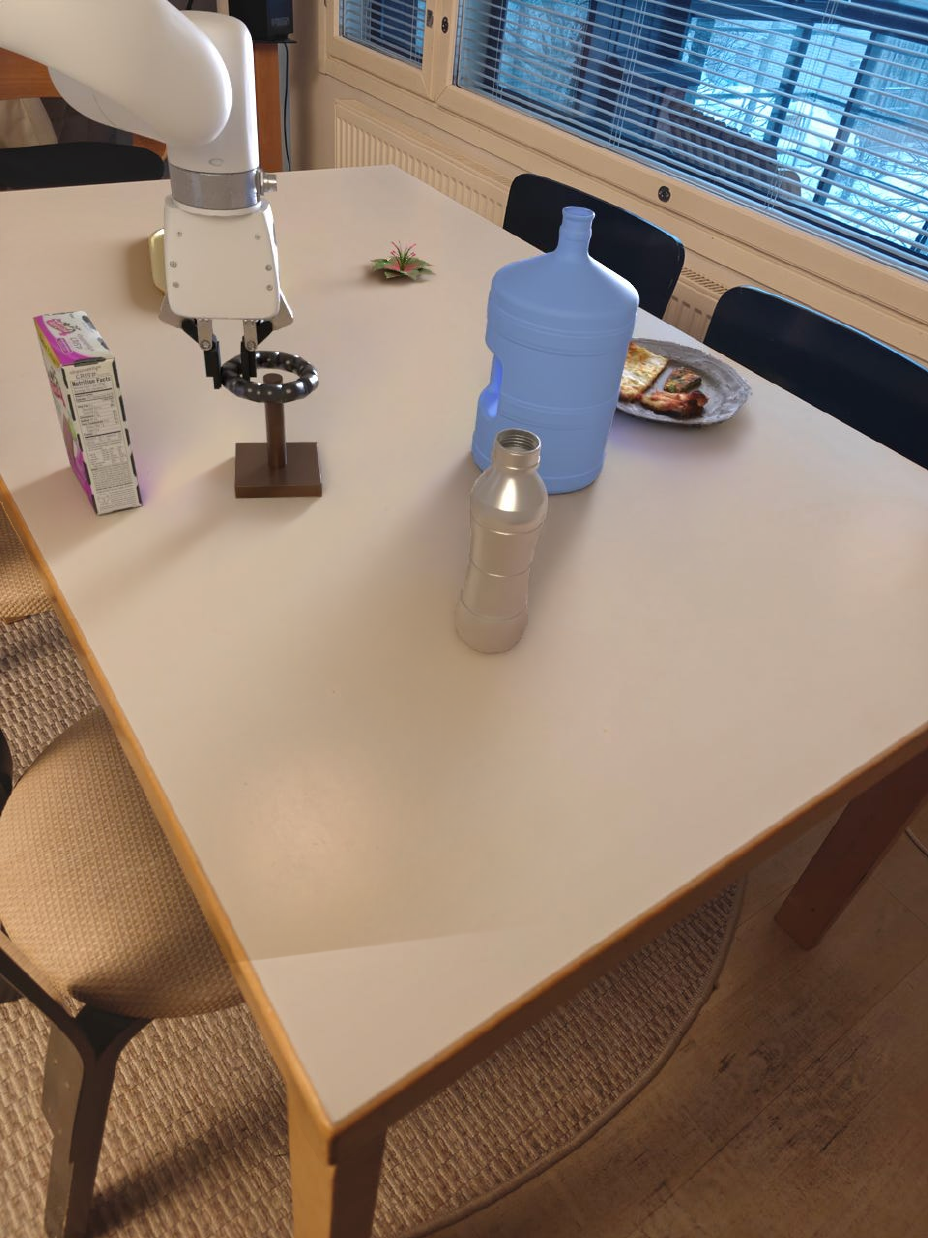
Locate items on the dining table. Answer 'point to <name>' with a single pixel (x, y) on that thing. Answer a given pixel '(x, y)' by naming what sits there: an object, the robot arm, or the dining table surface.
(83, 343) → the candy bar box
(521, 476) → the plastic bottle
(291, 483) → the post
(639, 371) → the food plate
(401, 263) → the lily flower
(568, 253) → the water jug
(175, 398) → the dining table surface
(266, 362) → the ring
